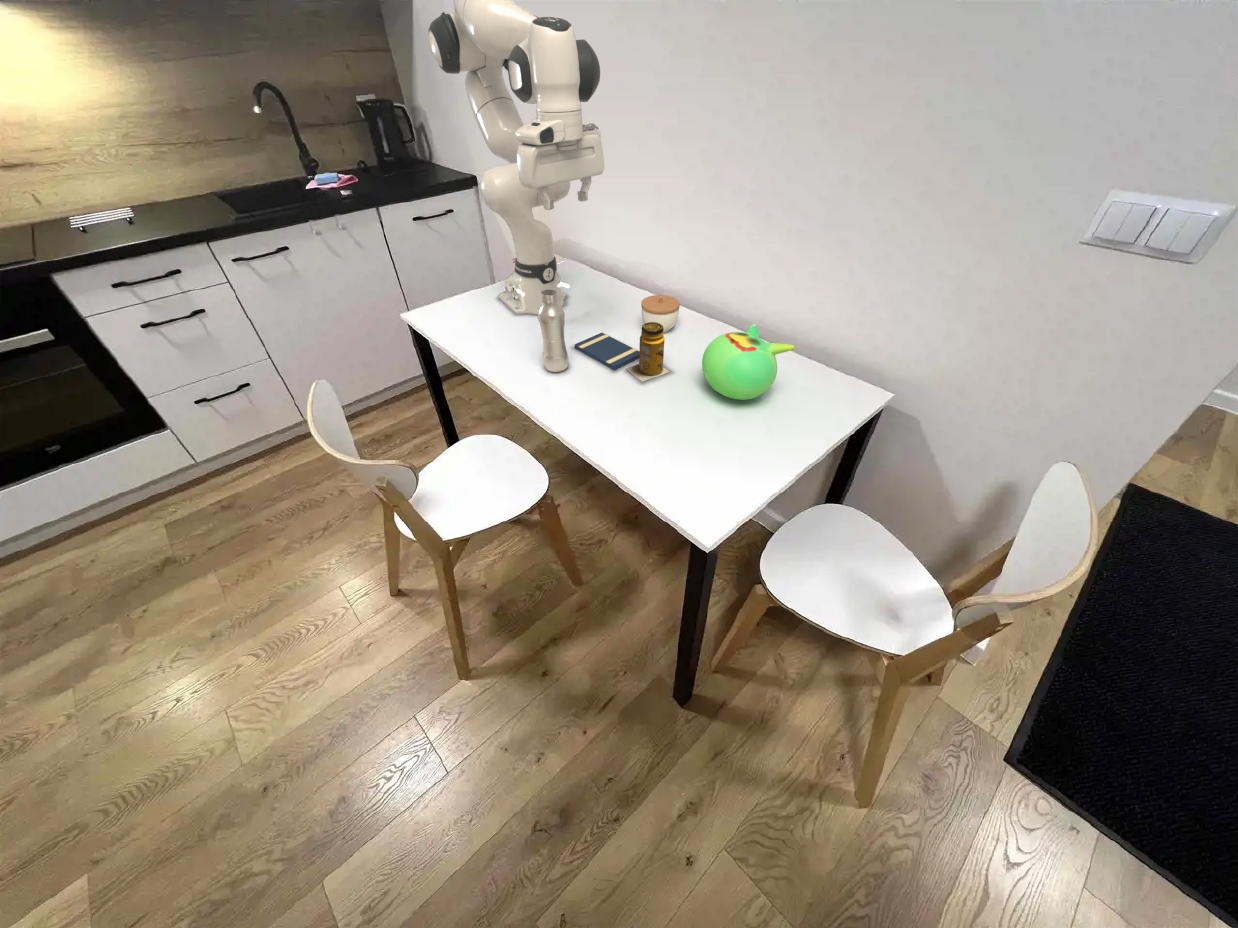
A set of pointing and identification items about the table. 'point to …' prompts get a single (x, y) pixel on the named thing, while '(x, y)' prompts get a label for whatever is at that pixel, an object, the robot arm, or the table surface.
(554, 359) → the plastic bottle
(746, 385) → the toy bird
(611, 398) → the table surface
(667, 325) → the trinket box
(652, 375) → the condiment
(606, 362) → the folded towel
